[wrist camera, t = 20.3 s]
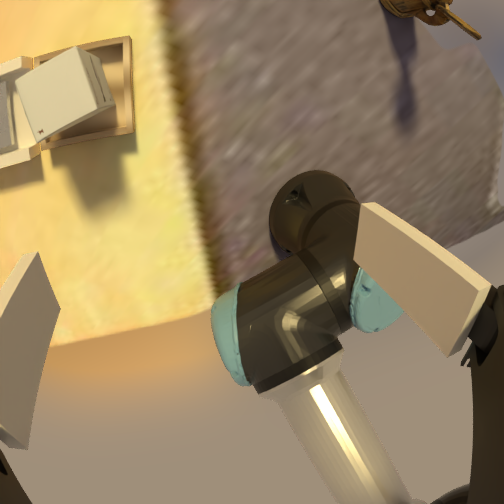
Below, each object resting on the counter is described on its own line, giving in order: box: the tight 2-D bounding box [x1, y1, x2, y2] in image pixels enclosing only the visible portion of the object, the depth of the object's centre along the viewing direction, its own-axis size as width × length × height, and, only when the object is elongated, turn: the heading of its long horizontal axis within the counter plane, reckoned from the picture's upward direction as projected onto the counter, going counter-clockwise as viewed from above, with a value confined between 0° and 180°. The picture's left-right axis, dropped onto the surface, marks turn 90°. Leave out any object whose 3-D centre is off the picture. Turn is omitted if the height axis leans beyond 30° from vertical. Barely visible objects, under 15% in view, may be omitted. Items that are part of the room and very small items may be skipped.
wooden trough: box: [34, 36, 135, 151], centre depth 31 cm, size 13×13×3 cm
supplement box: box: [15, 46, 116, 143], centre depth 26 cm, size 7×7×13 cm
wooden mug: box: [380, 0, 481, 40], centre depth 27 cm, size 9×14×18 cm, turn 0°
